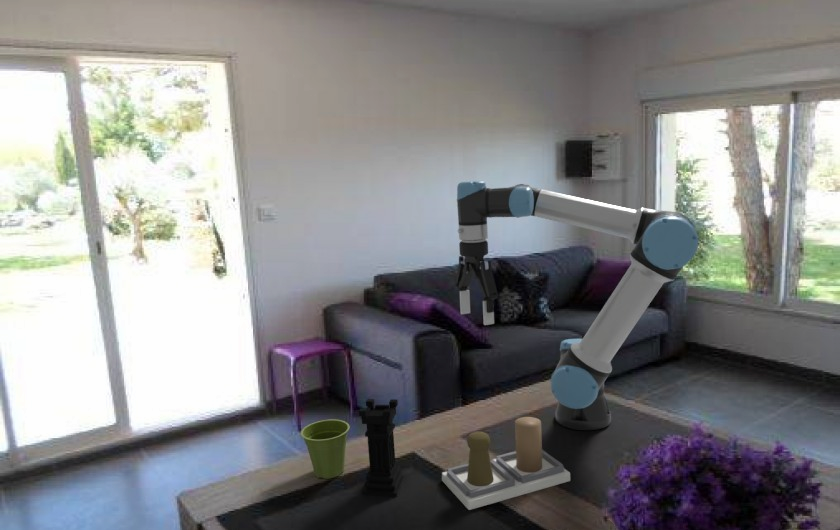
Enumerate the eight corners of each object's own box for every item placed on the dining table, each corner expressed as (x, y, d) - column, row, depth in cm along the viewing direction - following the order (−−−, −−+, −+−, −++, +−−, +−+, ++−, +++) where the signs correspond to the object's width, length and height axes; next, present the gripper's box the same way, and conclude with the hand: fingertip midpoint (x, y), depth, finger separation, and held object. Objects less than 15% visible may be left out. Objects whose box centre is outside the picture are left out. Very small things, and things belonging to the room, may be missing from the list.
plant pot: (333, 456, 160) (330, 415, 158) (362, 470, 151) (359, 427, 149) (295, 473, 151) (291, 430, 150) (323, 489, 143) (319, 444, 141)
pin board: (536, 455, 154) (535, 406, 151) (570, 480, 141) (569, 427, 139) (442, 480, 144) (439, 428, 142) (468, 510, 131) (466, 453, 129)
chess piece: (396, 496, 138) (391, 412, 135) (362, 494, 140) (356, 411, 137) (404, 478, 146) (399, 398, 143) (372, 476, 148) (366, 398, 144)
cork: (476, 489, 136) (474, 442, 134) (462, 477, 141) (459, 432, 139) (499, 481, 138) (497, 435, 137) (484, 470, 144) (482, 426, 142)
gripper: (441, 237, 171) (444, 311, 175) (483, 246, 149) (486, 331, 152) (465, 235, 174) (468, 307, 178) (510, 243, 151) (512, 326, 155)
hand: (476, 318), depth 165 cm, fingers open, 13 cm apart
